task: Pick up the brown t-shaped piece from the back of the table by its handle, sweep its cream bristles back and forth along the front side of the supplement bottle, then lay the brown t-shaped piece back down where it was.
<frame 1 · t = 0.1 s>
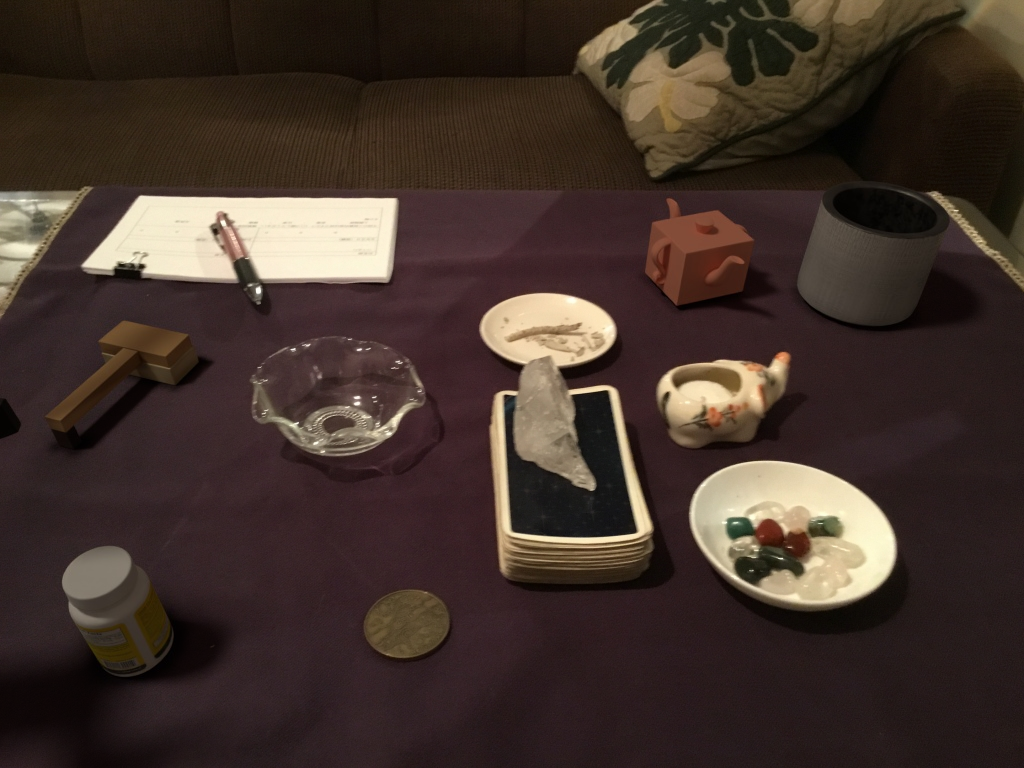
planter: (852, 299, 88), on the table
brown t-shaped piece: (153, 365, 77), on the table
supplement bottle: (138, 648, 54), on the table
teapot: (691, 288, 89), on the table
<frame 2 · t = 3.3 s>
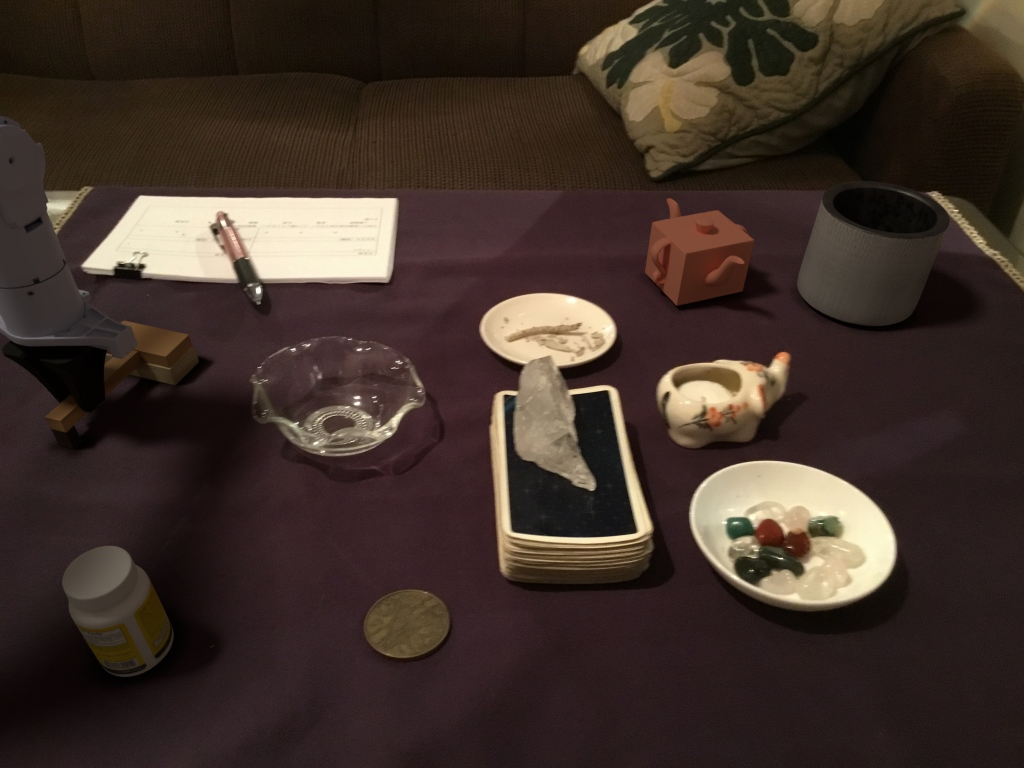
hand: (84, 402, 69), 2 cm above the table, tool pointing down, fingers closed on brown t-shaped piece, 2 cm apart
brown t-shaped piece: (153, 365, 77), on the table, touching gripper
everything else where it was.
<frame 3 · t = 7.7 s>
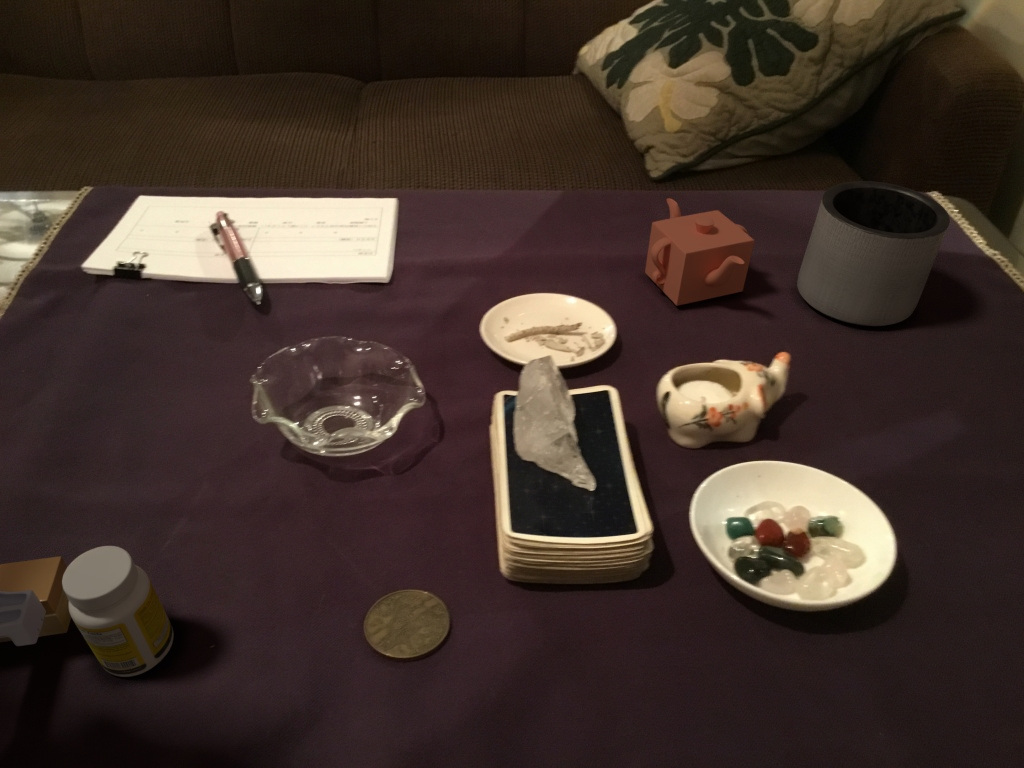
brown t-shaped piece: (13, 617, 52), point 2 cm above the table, touching gripper
everything else where it was.
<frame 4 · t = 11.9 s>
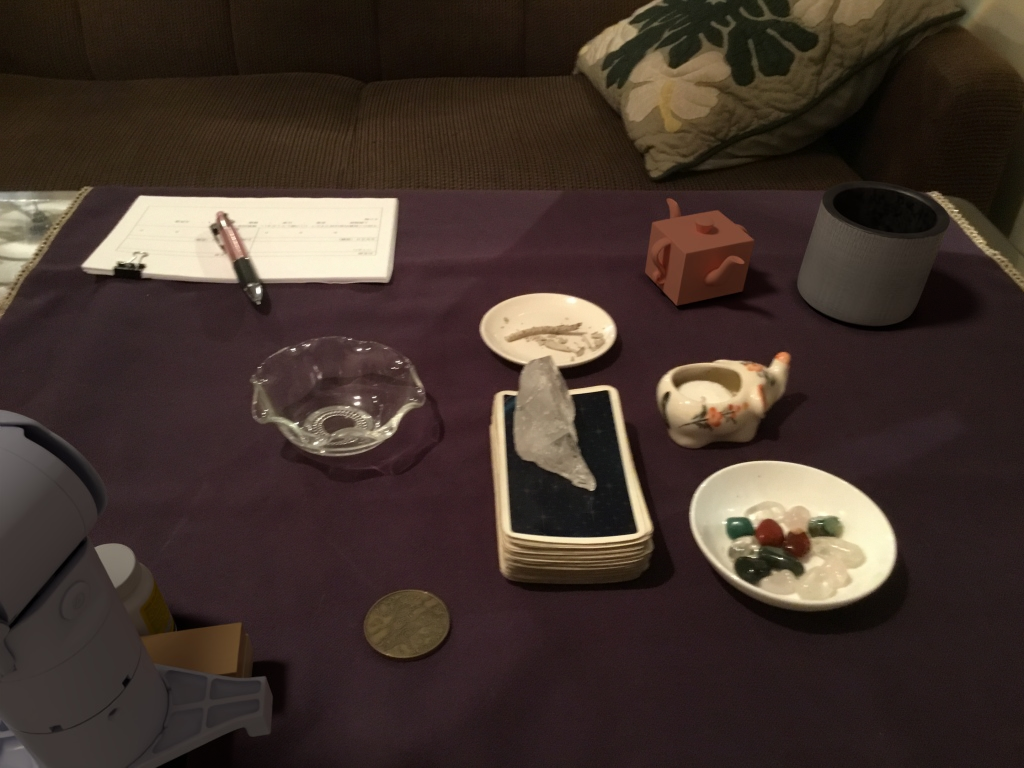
brown t-shaped piece: (190, 686, 50), point 1 cm above the table, touching gripper
everything else where it was.
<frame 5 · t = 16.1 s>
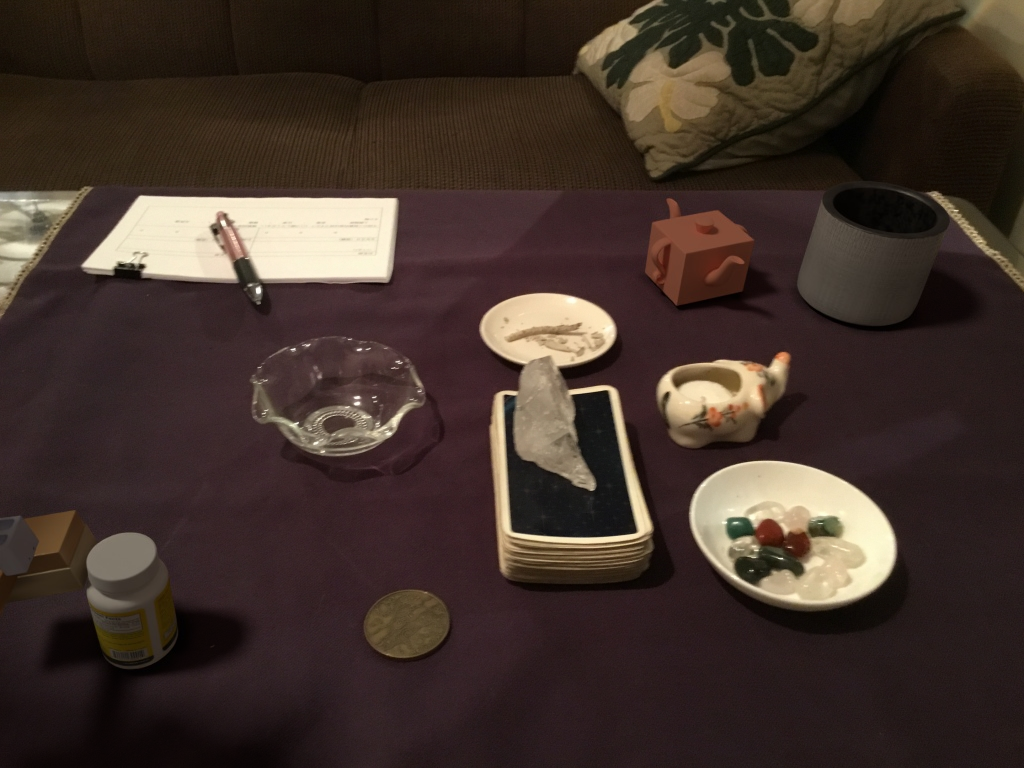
brown t-shaped piece: (30, 577, 50), point 6 cm above the table, tilted 7°, touching gripper
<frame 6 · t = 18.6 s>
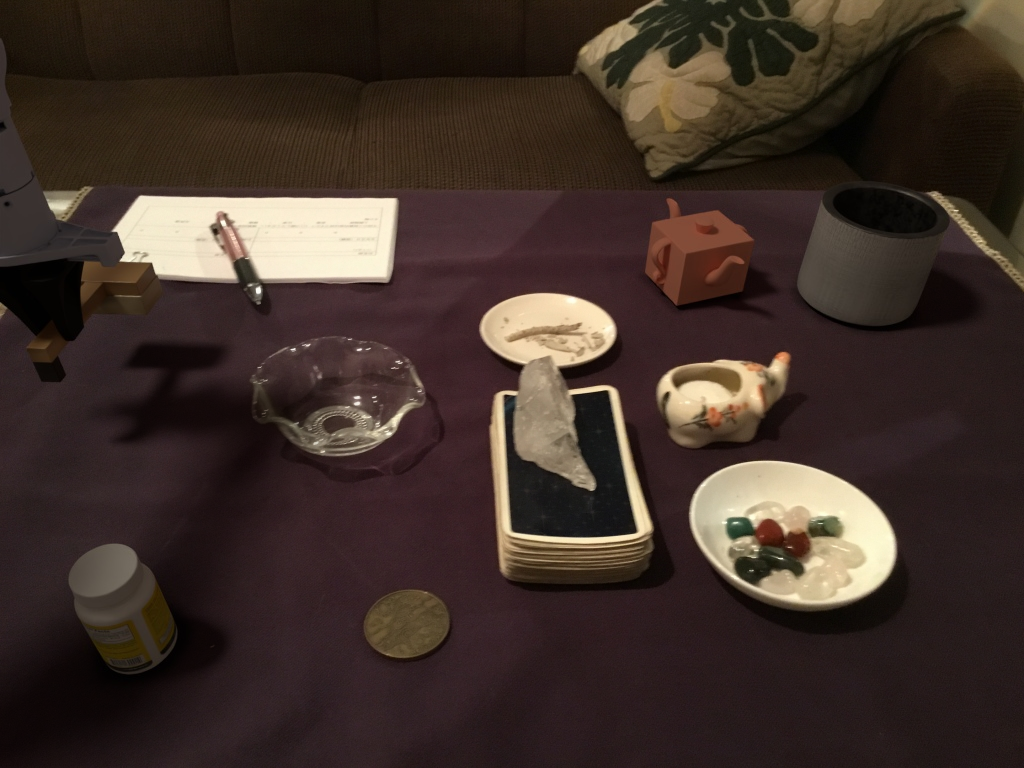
hand: (62, 333, 65), 9 cm above the table, tool pointing down, fingers closed on brown t-shaped piece
brown t-shaped piece: (115, 303, 73), point 7 cm above the table, touching gripper
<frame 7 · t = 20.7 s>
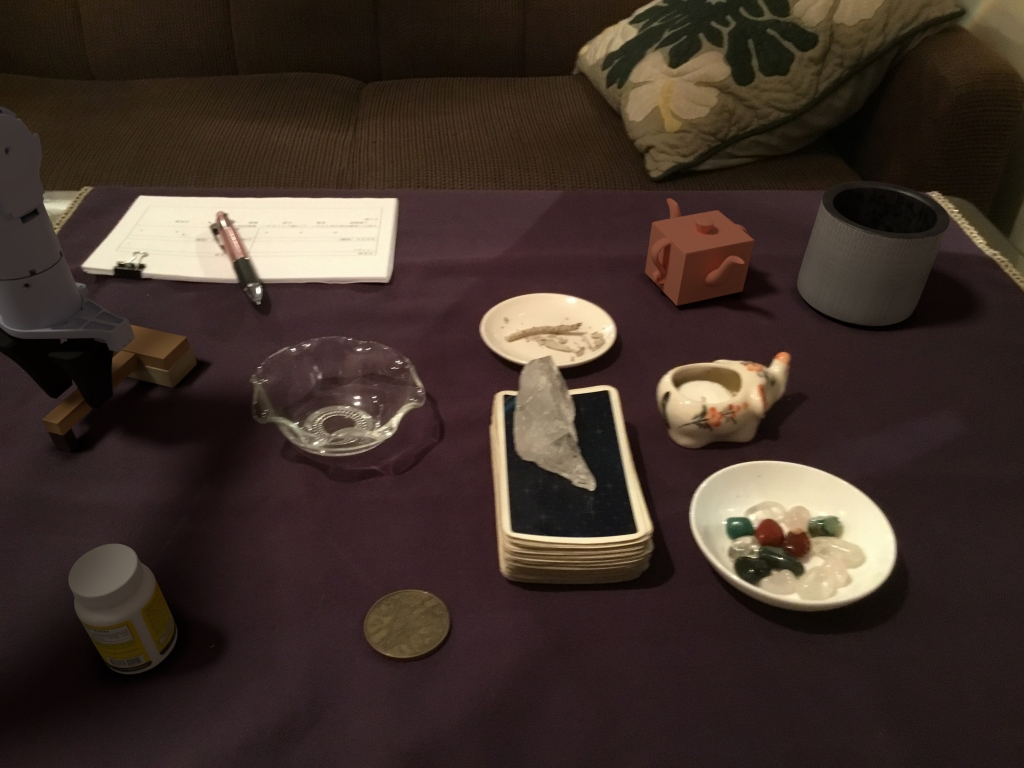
hand: (81, 396, 68), 3 cm above the table, tool pointing down, fingers open, 4 cm apart
brown t-shaped piece: (151, 368, 76), on the table
everything else where it was.
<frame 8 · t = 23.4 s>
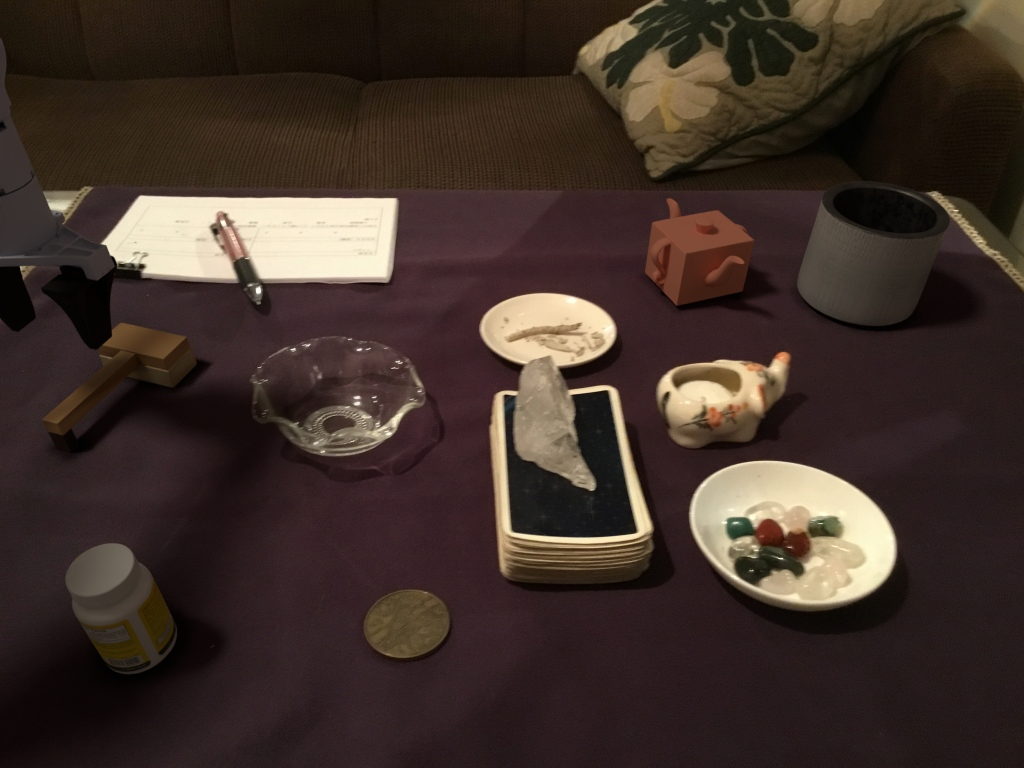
hand: (62, 333, 65), 9 cm above the table, tool pointing down, fingers open, 7 cm apart
nothing on the table moved.
at the end: brown t-shaped piece 0.3 cm from the target spot, on the table; supplement bottle tilted 1°; supplement bottle moved 0.3 cm from its start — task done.
